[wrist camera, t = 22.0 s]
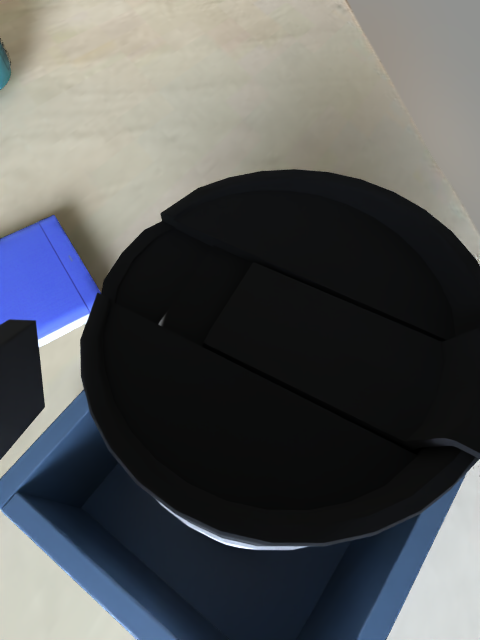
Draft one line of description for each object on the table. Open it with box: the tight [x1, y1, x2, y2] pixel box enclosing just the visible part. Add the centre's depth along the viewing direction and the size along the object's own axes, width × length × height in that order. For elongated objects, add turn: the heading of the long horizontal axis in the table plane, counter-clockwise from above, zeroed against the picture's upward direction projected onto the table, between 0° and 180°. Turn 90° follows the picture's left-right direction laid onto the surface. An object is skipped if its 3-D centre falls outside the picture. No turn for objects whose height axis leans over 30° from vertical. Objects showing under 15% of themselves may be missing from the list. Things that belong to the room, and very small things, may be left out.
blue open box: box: [0, 390, 466, 640], centre depth 21 cm, size 14×14×9 cm
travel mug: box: [80, 169, 480, 550], centre depth 15 cm, size 6×7×20 cm
